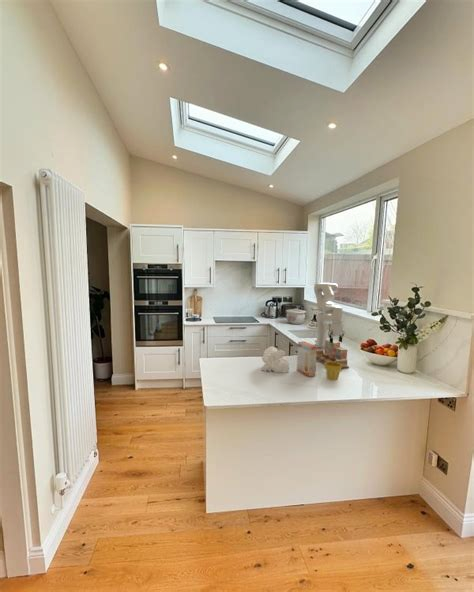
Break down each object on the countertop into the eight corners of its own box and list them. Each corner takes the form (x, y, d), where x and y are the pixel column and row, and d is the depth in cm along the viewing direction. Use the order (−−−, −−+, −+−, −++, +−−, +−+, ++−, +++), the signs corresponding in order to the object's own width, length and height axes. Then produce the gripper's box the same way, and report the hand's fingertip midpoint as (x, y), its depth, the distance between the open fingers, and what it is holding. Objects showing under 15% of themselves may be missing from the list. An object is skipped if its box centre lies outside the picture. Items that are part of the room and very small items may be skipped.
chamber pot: (306, 326, 375) (307, 309, 373) (284, 324, 379) (285, 308, 377) (305, 322, 402) (306, 307, 400) (285, 321, 407) (285, 306, 405)
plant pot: (338, 382, 187) (339, 367, 186) (322, 379, 193) (323, 364, 192) (342, 377, 196) (343, 363, 195) (326, 374, 202) (327, 360, 201)
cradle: (310, 357, 238) (310, 350, 238) (321, 356, 243) (322, 349, 243) (336, 370, 211) (336, 361, 210) (348, 368, 216) (349, 359, 215)
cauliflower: (299, 360, 201) (276, 346, 196) (284, 386, 199) (260, 372, 195) (288, 354, 219) (267, 340, 215) (274, 377, 217) (252, 364, 213)
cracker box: (315, 376, 198) (317, 345, 196) (308, 377, 195) (310, 346, 193) (303, 369, 210) (304, 340, 208) (296, 370, 208) (297, 341, 206)
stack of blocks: (346, 360, 234) (347, 345, 233) (340, 361, 232) (341, 346, 231) (330, 353, 254) (330, 339, 253) (324, 353, 252) (324, 339, 251)
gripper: (341, 320, 247) (340, 340, 249) (325, 321, 241) (324, 341, 242) (348, 321, 241) (347, 342, 242) (331, 322, 234) (330, 344, 235)
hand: (335, 342), depth 242 cm, fingers open, 9 cm apart
